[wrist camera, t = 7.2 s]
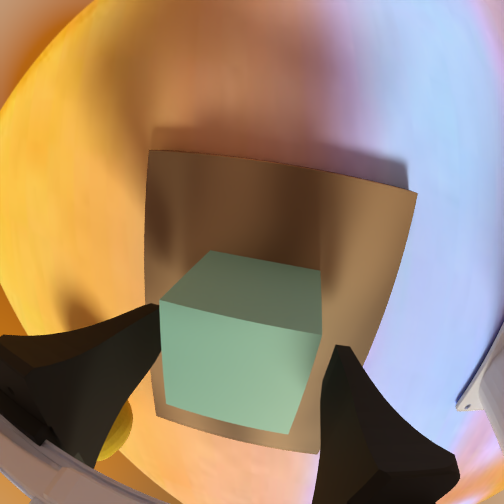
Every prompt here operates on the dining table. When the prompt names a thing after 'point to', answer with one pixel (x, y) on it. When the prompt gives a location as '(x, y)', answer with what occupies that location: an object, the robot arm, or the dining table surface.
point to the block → (241, 339)
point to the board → (277, 255)
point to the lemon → (117, 432)
